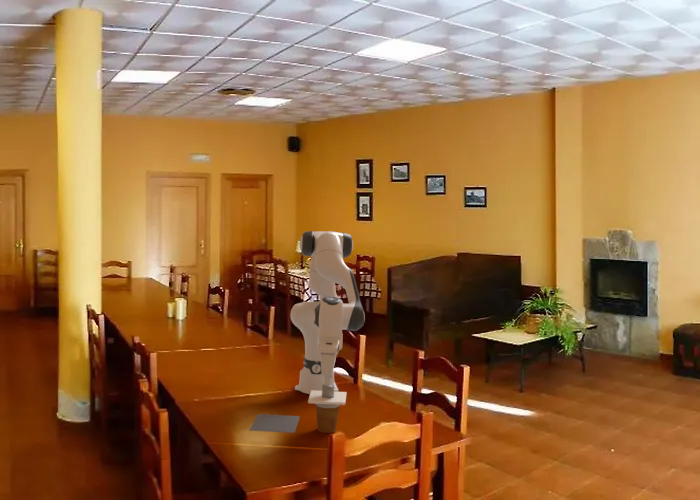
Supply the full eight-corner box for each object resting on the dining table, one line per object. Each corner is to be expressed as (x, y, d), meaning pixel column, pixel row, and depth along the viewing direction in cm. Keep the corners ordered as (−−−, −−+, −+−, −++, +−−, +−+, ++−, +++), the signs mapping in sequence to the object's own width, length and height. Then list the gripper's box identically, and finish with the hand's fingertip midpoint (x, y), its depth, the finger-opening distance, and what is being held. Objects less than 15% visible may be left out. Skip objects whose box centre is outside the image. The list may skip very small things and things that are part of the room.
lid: (311, 392, 246) (311, 379, 245) (346, 394, 245) (347, 381, 245) (308, 403, 233) (308, 389, 232) (345, 405, 232) (345, 391, 232)
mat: (258, 415, 254) (258, 414, 254) (300, 417, 253) (300, 416, 253) (249, 431, 236) (249, 430, 236) (294, 434, 235) (294, 432, 235)
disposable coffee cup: (339, 427, 245) (340, 395, 244) (339, 436, 235) (341, 403, 234) (313, 426, 244) (314, 394, 243) (312, 435, 235) (314, 402, 234)
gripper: (323, 336, 248) (321, 372, 249) (318, 349, 227) (316, 388, 229) (340, 337, 248) (338, 373, 249) (337, 350, 227) (335, 389, 228)
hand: (328, 381), depth 239 cm, fingers open, 8 cm apart
